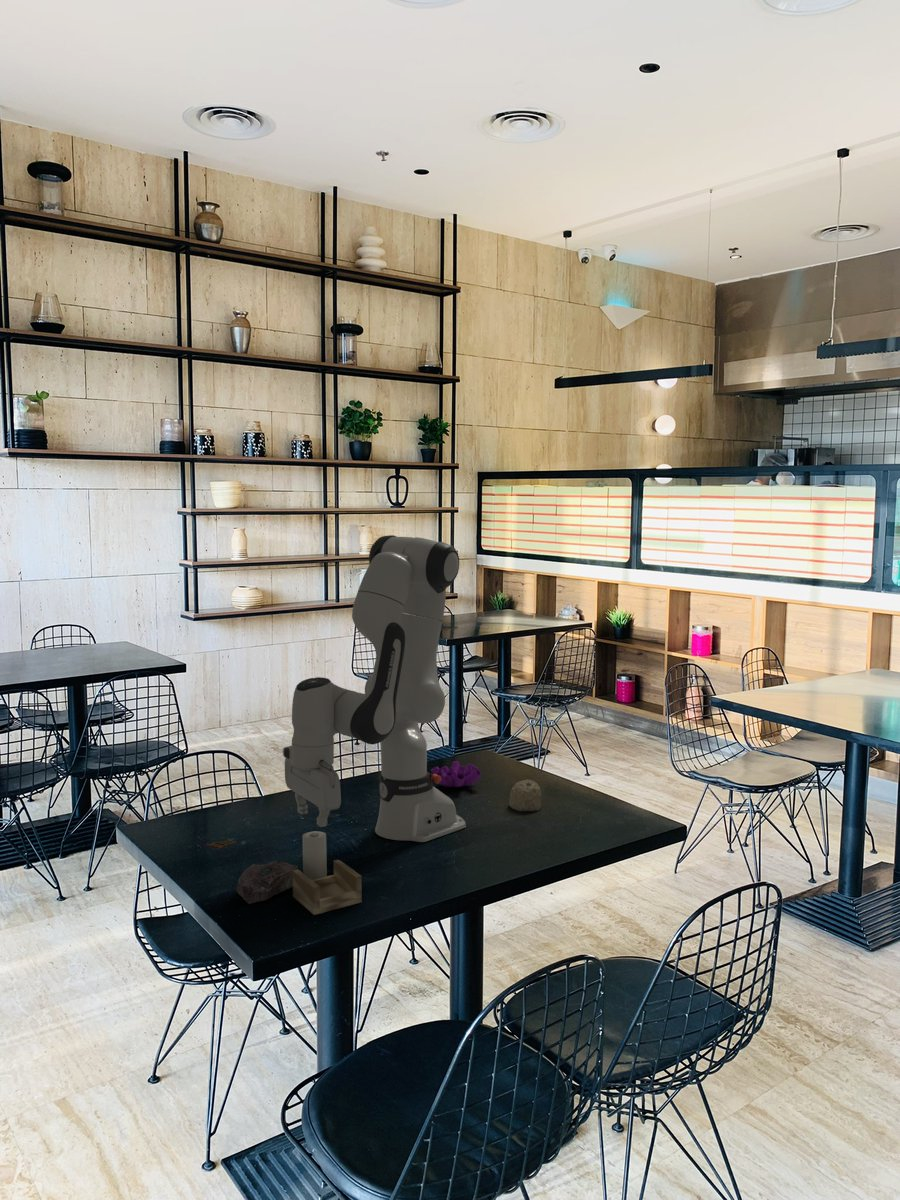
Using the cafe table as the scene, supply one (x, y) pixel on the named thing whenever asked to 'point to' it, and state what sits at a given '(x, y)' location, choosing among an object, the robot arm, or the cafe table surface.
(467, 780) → the purple coral
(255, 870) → the rock
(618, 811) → the cafe table surface
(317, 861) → the roll
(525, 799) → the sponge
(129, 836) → the cafe table surface
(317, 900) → the holder
